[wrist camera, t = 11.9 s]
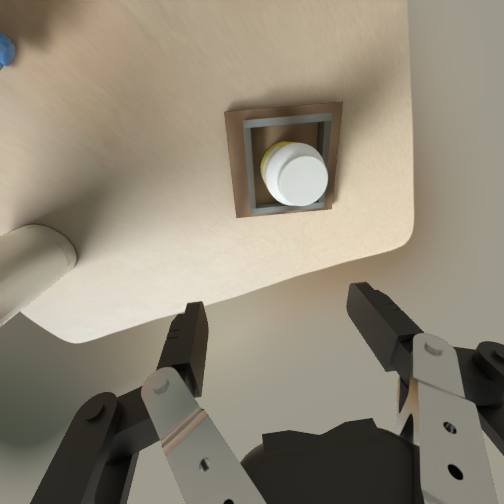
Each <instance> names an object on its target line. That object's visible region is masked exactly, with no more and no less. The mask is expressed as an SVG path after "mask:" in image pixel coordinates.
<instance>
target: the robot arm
mask: <svg viewBox="0 0 504 504" xmlns="http://www.w3.org/2000/svg"><path fill="white" fill-rule="evenodd" d="M76 260H77V256H76V252H75V249H74V247H73V246H72V244H71V243H70V242H69V240H68V239H67V238H66V237H64V236H63V235H62V234H61V233H59V232H57V231H55V230H54V229H51V228H49V227H46V226H42V225H34V224H32V225H26V226H23V227H20V228H18V229H16V230H13V231H11V232H9V233H6V234H4V235H2V236H0V327H1V326H2V325H3V324H5V323H6V322H7V321H8V320H9V319H11V318H12V317H13V316H14V315H16V314H17V313H18V312H19V311H21V310H22V309H23V308H24V307H26V306H27V305H28V304H29V303H30V302H32V301H33V300H34V299H35V298H37V297H38V296H39V295H40V294H42V293H43V292H44V291H45V290H46V289H48V288H49V287H50V286H51V285H53V284H54V283H55V282H56V281H58V280H59V279H60V278H61V277H63V276H64V275H65V274H66V273H67V272H69V271H70V270H71V269H72V268H73V267H74V266H75V264H76ZM347 312H348V315H349V317H350V318H351V320H352V321H353V323H354V324H355V326H356V327H357V329H358V330H359V332H360V333H361V335H362V336H363V338H364V339H365V341H366V342H367V344H368V345H369V347H370V348H371V350H372V351H373V353H374V354H375V356H376V357H377V359H378V360H379V362H380V363H381V365H382V366H383V368H384V369H385V371H386V372H389V371H397V373H398V374H399V377H398V387H397V405H396V420H395V425H394V430H393V433H392V432H390V431H388V430H385V429H381V428H377V426H376V425H375V423H374V421H373V419H372V418H369V419H362V420H356V421H349V422H345V423H343V424H341V425H339V426H337V427H335V428H333V429H331V430H330V431H328V432H326V433H324V434H321V435H316V434H310V433H303V432H297V431H291V430H288V431H281V432H274V433H267V434H262V437H263V443H262V444H260V445H259V446H257V447H255V448H254V449H253V450H251V451H250V452H249V453H248V454H247V455H246V456H245V457H244V458H243V459H242V461H241V462H239V461H238V459H237V458H236V456H235V455H234V453H233V452H232V450H231V449H230V447H229V446H228V444H227V443H226V441H225V440H224V438H223V437H222V435H221V434H220V432H219V431H218V429H217V428H216V426H215V425H214V423H213V421H212V420H211V419H210V417H209V415H208V414H207V413H206V411H205V410H204V409H201V407H200V406H199V405H198V403H197V401H196V400H195V398H196V397H201V395H202V386H203V377H204V369H205V360H206V351H207V342H208V331H209V330H208V321H207V317H206V313H205V309H204V305H203V302H202V301H200V302H192V303H187V306H186V310H185V313H184V314H178V315H177V316H176V317H175V319H174V320H173V321H172V322H171V326H170V329H169V333H168V335H167V340H166V341H165V344H164V347H163V350H162V354H161V357H160V360H159V363H158V366H157V369H156V371H155V372H153V373H152V374H151V375H150V376H149V377H148V378H147V379H146V381H145V382H144V384H143V386H141V387H139V388H137V389H135V390H133V391H131V392H128V393H126V394H124V395H121V396H119V397H116V396H115V394H113V393H111V392H103V393H100V394H98V395H96V396H94V397H92V398H91V399H89V400H88V401H87V402H85V403H84V404H83V405H82V406H81V408H80V409H79V410H78V411H77V413H76V415H75V416H74V418H73V420H72V422H71V424H70V426H69V428H68V430H67V432H66V434H65V436H64V438H63V440H62V442H61V444H60V446H59V448H58V450H57V452H56V454H55V455H54V458H53V459H52V461H51V463H50V465H49V467H48V469H47V471H46V473H45V475H44V477H43V479H42V481H41V483H40V485H39V487H38V489H37V491H36V493H35V495H34V497H33V499H32V501H31V503H30V504H127V500H128V496H129V491H130V488H131V483H132V479H133V475H134V471H135V467H136V463H137V459H138V455H139V451H140V450H142V449H144V448H146V447H148V446H150V445H152V444H153V443H155V442H157V441H159V440H161V443H162V448H163V451H164V453H165V456H166V458H167V460H168V463H169V465H170V467H171V470H172V472H173V474H174V477H175V479H176V481H177V484H178V486H179V488H180V491H181V493H182V495H183V498H184V500H185V502H186V504H498V500H497V496H496V491H495V487H494V483H493V478H492V474H491V469H490V465H489V461H488V456H487V452H486V448H485V443H484V439H483V435H482V430H483V431H484V432H485V433H486V434H487V436H488V437H489V438H490V439H491V441H492V442H493V443H494V444H495V446H496V447H497V448H498V449H499V451H500V452H501V453H502V454H503V456H504V345H502V344H499V343H496V342H490V341H485V342H481V343H480V344H479V345H478V347H477V348H476V350H473V349H466V348H459V347H452V346H451V345H450V344H449V343H448V342H447V341H445V340H444V339H442V338H440V337H438V336H435V335H432V334H427V333H424V332H423V331H422V330H421V329H420V328H419V327H418V326H417V325H416V324H415V323H414V322H413V321H412V320H411V319H410V318H409V317H408V316H407V315H406V314H405V313H404V312H403V311H402V310H401V309H400V308H399V307H398V306H397V305H396V304H395V303H394V302H393V301H392V300H391V299H390V298H389V297H388V296H387V295H386V294H384V293H382V292H380V291H379V290H374V289H373V288H372V287H371V286H370V285H369V284H368V283H367V282H359V283H351V284H350V286H349V292H348V299H347ZM481 428H482V430H481Z"/></svg>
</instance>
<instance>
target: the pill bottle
mask: <svg viewBox="0 0 504 504" xmlns="http://www.w3.org/2000/svg"><path fill="white" fill-rule="evenodd" d="M260 171H261V176H262V178H263V180H264V182H265V184H266V186H267V188H268V190H269V192H270V193H271V195H272V196H273V197H274V198H275V199H276V200H277V201H279V202H281V203H283V204H286V205H292V206H294V205H296V206H306V205H309V204H311V203H314V202H315V201H317V200H318V199H319V198H320V197H321V196H322V194H323V193H324V191H325V189H326V187H327V183H328V173H327V169H326V167H325V164H324V161H323V158H322V157H321V155H320V154H319V152H318V151H317V150H316V149H314V148H313V147H311V146H310V145H307V144H303V143H297V142H289V141H282V142H278V143H275V144H274V145H272V146H271V147H269V148H268V149H267V150H266V152H265V153H264V155H263V157H262V160H261V164H260Z"/></svg>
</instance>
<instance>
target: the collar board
mask: <svg viewBox="0 0 504 504" xmlns="http://www.w3.org/2000/svg"><path fill="white" fill-rule="evenodd" d="M342 104H343V102H333V103H321V104H310V105H298V106H286V107H275V108H263V109H251V110H240V111H228V112H224V115H225V123H226V132H227V140H228V149H229V158H230V166H231V175H232V183H233V192H234V200H235V209H236V218H242V217H253V216H264V215H274V214H285V213H296V212H306V211H317V210H328V209H332V202H333V192H334V182H335V172H336V163H337V153H338V143H339V133H340V124H341V114H342ZM282 141H289V142H297V143H303V144H307V145H310V146H311V147H313V148H314V149H316V150H317V151H318V152H319V154H320V155H321V157H322V158H323V161H324V164H325V167H326V169H327V173H328V183H327V187H326V189H325V191H324V193H323V194H322V196H321V197H320V198H319V199H318V200H317V201H315V202H314V203H311V204H309V205H306V206H296V205H294V206H292V205H286V204H283V203H281V202H279V201H277V200H276V199H275V198H274V197H273V196H272V195H271V193H270V192H269V190H268V188H267V186H266V184H265V182H264V180H263V178H262V176H261V171H260V164H261V160H262V157H263V155H264V153H265V152H266V150H267V149H268V148H269V147H271V146H272V145H274V144H275V143H278V142H282Z"/></svg>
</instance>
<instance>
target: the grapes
mask: <svg viewBox="0 0 504 504" xmlns="http://www.w3.org/2000/svg"><path fill="white" fill-rule="evenodd" d="M15 51H16V49H15V47H14V45H13V43H12V42H11V41H10V40H9V39H8V38H7V37H6V36H5V35H4V34H3V33H2V32H0V70H1V69H2V68H3V66H4V65H5V66H7V65H8V64H9V63H11V61H12V60H13V58H14V56H15Z"/></svg>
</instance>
